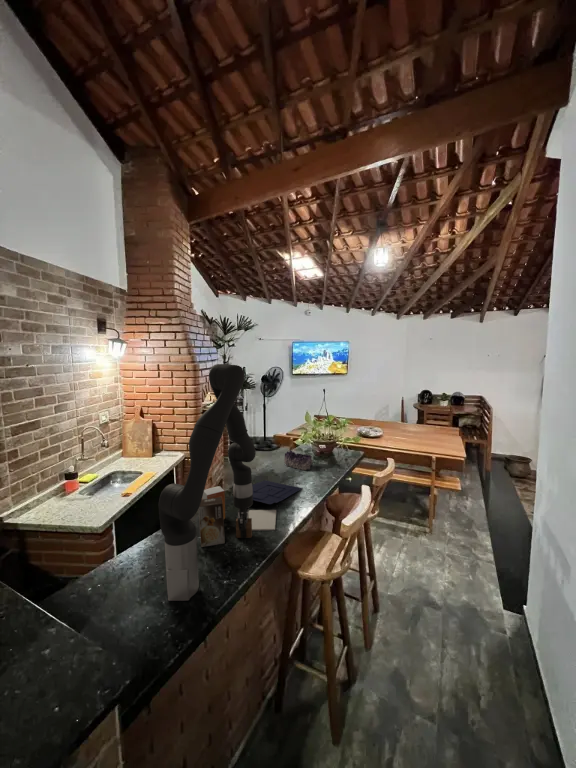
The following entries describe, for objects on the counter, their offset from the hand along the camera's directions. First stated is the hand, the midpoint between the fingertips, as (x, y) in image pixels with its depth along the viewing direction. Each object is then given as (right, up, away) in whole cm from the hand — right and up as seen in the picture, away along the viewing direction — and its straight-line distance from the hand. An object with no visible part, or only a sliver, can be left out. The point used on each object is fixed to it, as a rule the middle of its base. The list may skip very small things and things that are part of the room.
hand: (244, 534), depth 130 cm
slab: (0, -1, 0) cm, 1 cm away
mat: (+5, +1, +12) cm, 13 cm away
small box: (-15, 0, +14) cm, 21 cm away
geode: (+23, +7, +77) cm, 81 cm away
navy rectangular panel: (+8, +3, +37) cm, 37 cm away
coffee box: (-12, -1, -3) cm, 12 cm away
